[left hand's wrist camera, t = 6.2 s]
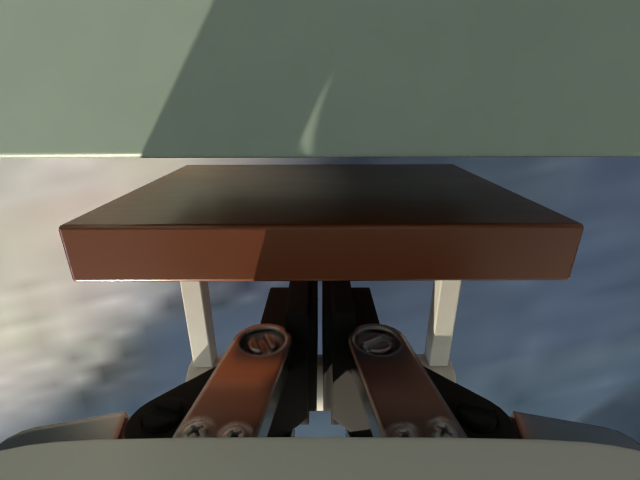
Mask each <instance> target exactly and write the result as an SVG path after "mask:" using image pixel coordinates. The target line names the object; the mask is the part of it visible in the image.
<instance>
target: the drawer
mask: <svg viewBox="0 0 640 480" xmlns="http://www.w3.org/2000/svg"><path fill="white" fill-rule="evenodd" d="M582 232H583V225H582V224H581V223H579V222H577V221H574V220H572V219H570V218H568V217H566V216H564V215H561V214H559V213H557V212H555V211H553V210H551V209H548V208H546V207H544V206H542V205H540V204H538V203H535V202H533V201H531V200H529V199H527V198H524V197H522V196H520V195H518V194H516V193H514V192H511V191H509V190H507V189H505V188H503V187H501V186H498V185H496V184H494V183H492V182H490V181H488V180H485V179H483V178H481V177H479V176H477V175H475V174H472V173H470V172H468V171H466V170H464V169H462V168H459V167H457V166H455V165H453V164H421V165H187V166H184V167H182V168H180V169H178V170H176V171H174V172H172V173H170V174H168V175H166V176H163V177H161V178H159V179H157V180H155V181H153V182H151V183H149V184H147V185H145V186H142V187H140V188H138V189H136V190H134V191H132V192H130V193H128V194H126V195H124V196H122V197H119V198H117V199H115V200H113V201H111V202H109V203H107V204H105V205H103V206H101V207H98V208H96V209H94V210H92V211H90V212H88V213H86V214H84V215H82V216H80V217H77V218H75V219H73V220H71V221H69V222H67V223H65V224H63V225H61V226H60V227H59V233H60V236H61V240H62V243H63V247H64V250H65V254H66V257H67V260H68V264H69V267H70V271H71V274H72V278H73V280H74V281H76V282H143V281H180V284H181V290H182V296H183V302H184V308H185V314H186V320H187V327H188V333H189V339H190V345H191V351H192V357H193V360H192V361H191V364H190V366H189V369H188V373H187V377H186V382H187V381H189V380H191V379H193V378H195V377H197V376H198V375H200V374H202V373H204V372H206V371H208V370H210V369H212V368H213V367H215V366H217V365H218V363H219V362H220V360H221V359H222V357H223V355H217V350H216V342H215V335H214V327H213V320H212V312H211V304H210V297H209V289H208V282H207V281H407V280H434V284H433V292H432V300H431V308H430V315H429V323H428V331H427V338H426V346H425V354H416V355H417V357H418V359H419V360H420V362H421V363H422V365H423V366H425V367H427V368H428V369H430V370H432V371H434V372H436V373H438V374H440V375H442V376H443V377H445V378H447V379H449V380H451V381H453V382H455V383H456V376H455V372H454V369H453V366H452V363H451V361H450V359H449V355H450V348H451V342H452V336H453V330H454V324H455V317H456V311H457V305H458V299H459V293H460V287H461V280H567V279H568V278H569V277H570V274H571V270H572V267H573V263H574V260H575V256H576V253H577V249H578V246H579V242H580V239H581V235H582ZM317 411H323V354H320V355H317Z"/></svg>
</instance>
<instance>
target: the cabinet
mask: <svg viewBox="0 0 640 480" xmlns="http://www.w3.org/2000/svg"><path fill="white" fill-rule="evenodd" d="M275 157H640V0H0V158H275Z"/></svg>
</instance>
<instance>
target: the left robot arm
mask: <svg viewBox="0 0 640 480" xmlns="http://www.w3.org/2000/svg"><path fill="white" fill-rule="evenodd" d="M317 346H318V281H290V285H289V288H271V289H270V292H269V295H268V299H267V302H266V306H265V310H264V313H263V317H262V320H261V324H258V325H253V326H250V327H248V328H245V329H244V330H242V331H241V332H239V333H238V334H237V335H236V337H235V338H234V339H233V341H232V343H231V344H230V346H229V347H228V349H227V351H226V352H225V354H224V355H223V357H222V359H221V360H220V362H219V363H218V365H217V366H215V367H213V368H212V369H210V370H208V371H206V372H204V373H202V374H200V375H198V376H197V377H195V378H193V379H191V380H189V381H187V382H185V383H183V384H181V385H180V386H178V387H176V388H174V389H172V390H170V391H168V392H166V393H165V394H163V395H161V396H159V397H157V398H155V399H153V400H151V401H150V402H148V403H147V404H145V405H144V406H142V407H140V408H139V409H138V410H137V411H136V412H135V413H134V414H133V415H132V416H131V417H128V413H127V411H125V412H119V413H114V414H108V415H102V416H97V417H91V418H85V419H80V420H74V421H68V422H63V423H57V424H51V425H46V426H40V427H35V428H31V429H28V430H25V431H21V432H19V433H17V434H15V435H13V436H12V437H10V438H8V439H6V440H5V441H3V442H2V443H1V444H0V480H640V444H639V443H638V442H637V441H635V440H634V439H632V438H630V437H628V436H627V435H625V434H623V433H621V432H619V431H615V430H612V429H609V428H605V427H600V426H594V425H589V424H583V423H577V422H572V421H566V420H560V419H555V418H549V417H543V416H538V415H532V414H526V413H521V412H515V411H513V413H512V417H509V416H508V415H507V414H506V413H505V412H504V411H503V410H502V409H501V408H500V407H498V406H496V405H495V404H493V403H492V402H490V401H489V400H487V399H485V398H483V397H481V396H479V395H477V394H475V393H474V392H472V391H470V390H468V389H466V388H464V387H462V386H460V385H459V384H457V383H455V382H453V381H451V380H449V379H447V378H445V377H443V376H442V375H440V374H438V373H436V372H434V371H432V370H430V369H428V368H427V367H425V366H423V365H422V363H421V362H420V360H419V359H418V357H417V355H416V354H415V352H414V351H413V349H412V347H411V346H410V344H409V343H408V341H407V339H406V338H405V337H404V335H403V334H402V333H401V332H399V331H398V330H396V329H395V328H392V327H390V326H387V325H382V324H379V320H378V317H377V313H376V310H375V306H374V302H373V299H372V295H371V292H370V289H369V288H351V285H350V281H322V346H323V411H331V424H341V425H342V426H343V427H345V437H295V427H297V426H298V425H299V424H309V411H317Z"/></svg>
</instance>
